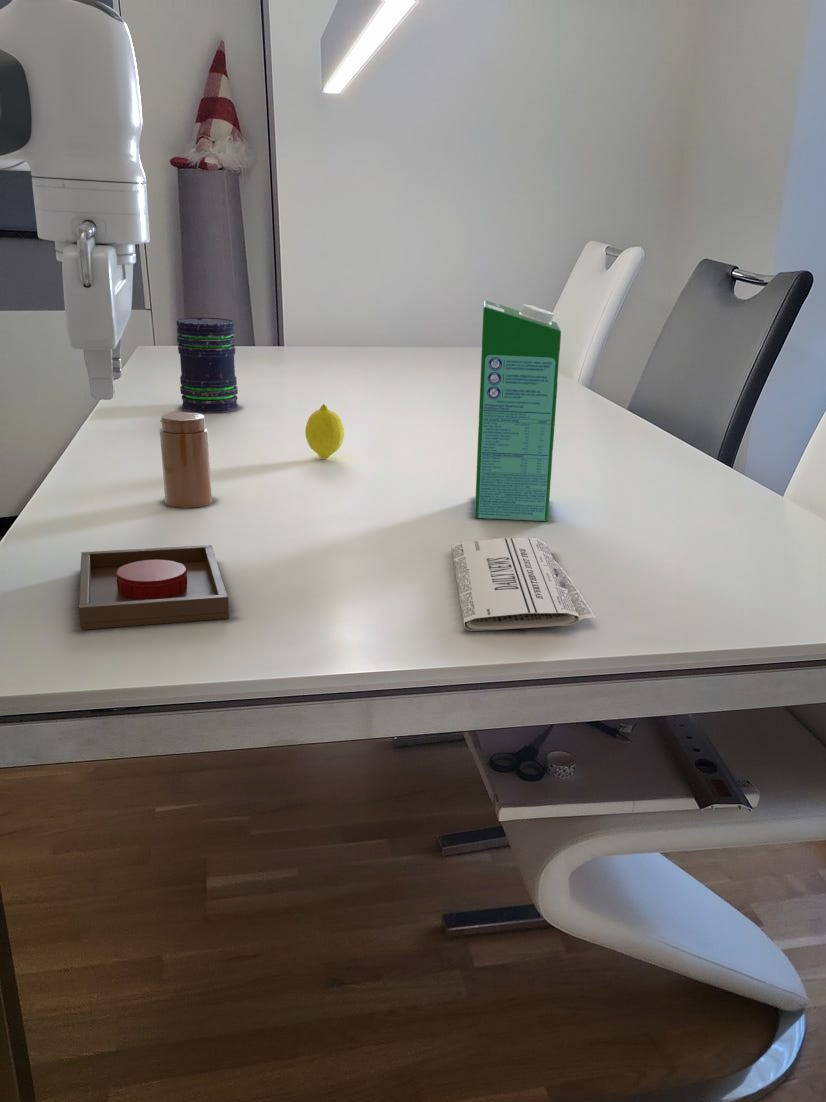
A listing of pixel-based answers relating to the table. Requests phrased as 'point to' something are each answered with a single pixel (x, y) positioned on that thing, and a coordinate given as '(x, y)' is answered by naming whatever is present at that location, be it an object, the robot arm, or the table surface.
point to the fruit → (324, 432)
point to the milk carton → (516, 412)
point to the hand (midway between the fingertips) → (107, 387)
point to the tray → (115, 610)
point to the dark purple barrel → (207, 364)
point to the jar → (185, 460)
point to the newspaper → (514, 586)
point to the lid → (151, 579)
